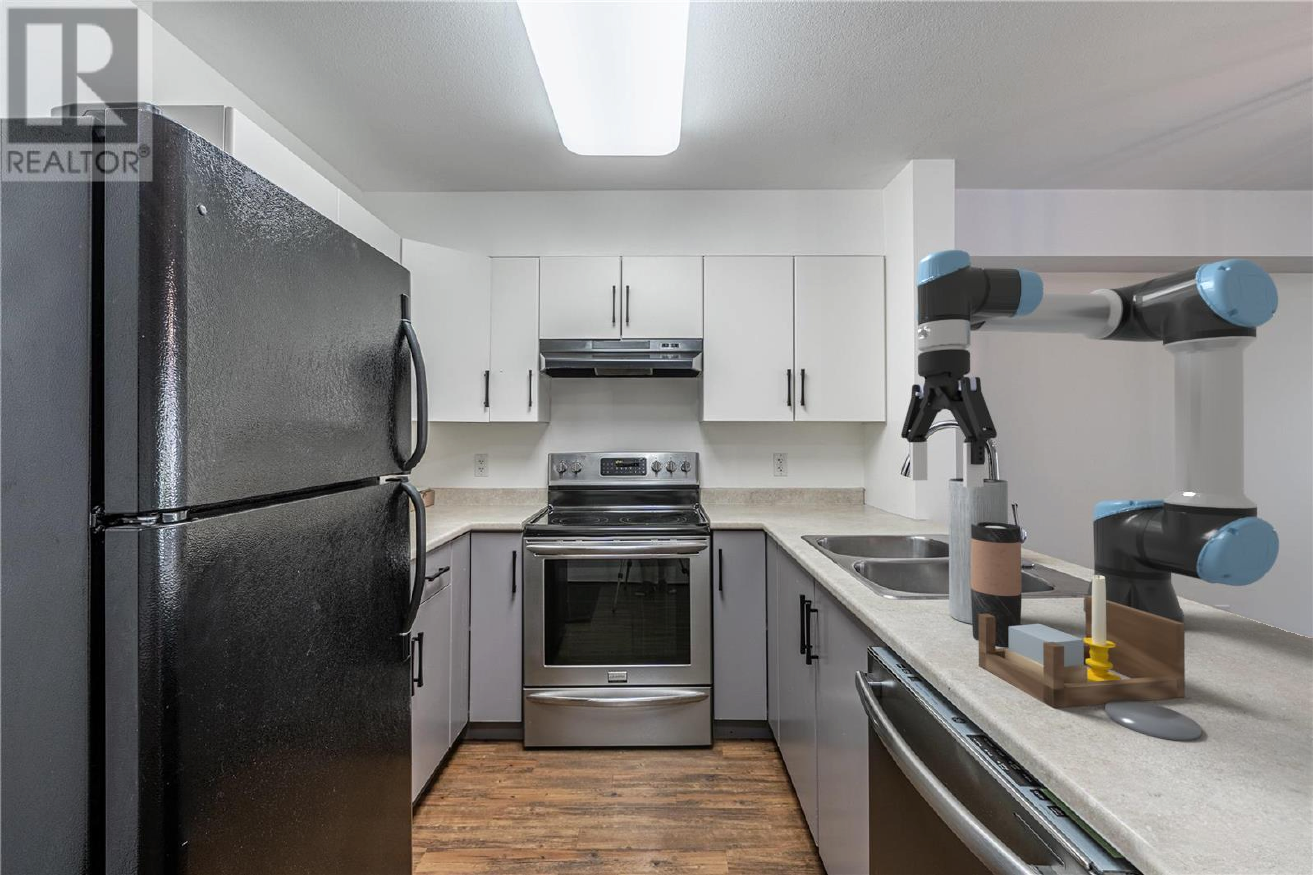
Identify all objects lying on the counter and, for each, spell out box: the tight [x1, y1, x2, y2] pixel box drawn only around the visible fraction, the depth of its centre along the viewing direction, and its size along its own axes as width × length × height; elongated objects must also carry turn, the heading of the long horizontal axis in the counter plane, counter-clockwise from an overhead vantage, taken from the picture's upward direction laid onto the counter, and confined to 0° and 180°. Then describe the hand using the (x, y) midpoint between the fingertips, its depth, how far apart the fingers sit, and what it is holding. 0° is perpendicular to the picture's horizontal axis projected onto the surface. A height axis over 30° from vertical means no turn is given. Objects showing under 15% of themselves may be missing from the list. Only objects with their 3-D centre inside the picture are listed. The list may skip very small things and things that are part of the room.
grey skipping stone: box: [1104, 700, 1202, 742], centre depth 71 cm, size 9×9×1 cm
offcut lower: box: [1004, 647, 1088, 684], centre depth 83 cm, size 6×8×4 cm
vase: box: [948, 477, 1009, 625], centre depth 112 cm, size 10×10×27 cm
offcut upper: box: [1008, 623, 1085, 667], centre depth 83 cm, size 6×7×4 cm
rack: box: [978, 595, 1186, 709], centre depth 83 cm, size 20×14×10 cm
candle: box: [1083, 573, 1122, 682], centre depth 84 cm, size 5×5×16 cm
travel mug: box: [971, 522, 1023, 648], centre depth 100 cm, size 8×8×20 cm
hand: (944, 483), depth 92 cm, fingers open, 13 cm apart
